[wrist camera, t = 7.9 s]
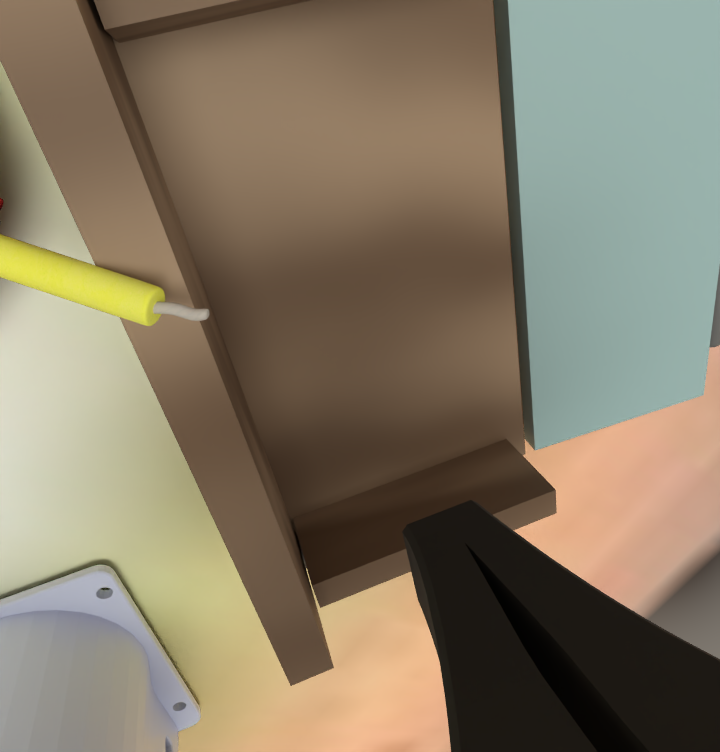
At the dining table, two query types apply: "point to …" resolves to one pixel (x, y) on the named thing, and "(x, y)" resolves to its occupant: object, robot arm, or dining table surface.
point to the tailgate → (611, 204)
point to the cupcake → (88, 284)
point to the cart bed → (301, 264)
